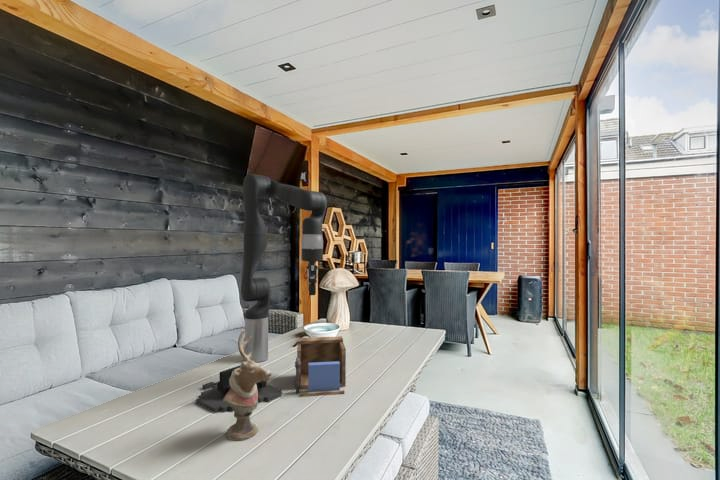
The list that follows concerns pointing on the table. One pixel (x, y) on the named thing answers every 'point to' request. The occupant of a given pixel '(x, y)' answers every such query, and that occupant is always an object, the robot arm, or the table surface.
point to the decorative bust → (244, 393)
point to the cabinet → (319, 360)
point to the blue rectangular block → (324, 376)
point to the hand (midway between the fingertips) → (312, 293)
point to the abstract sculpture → (215, 396)
